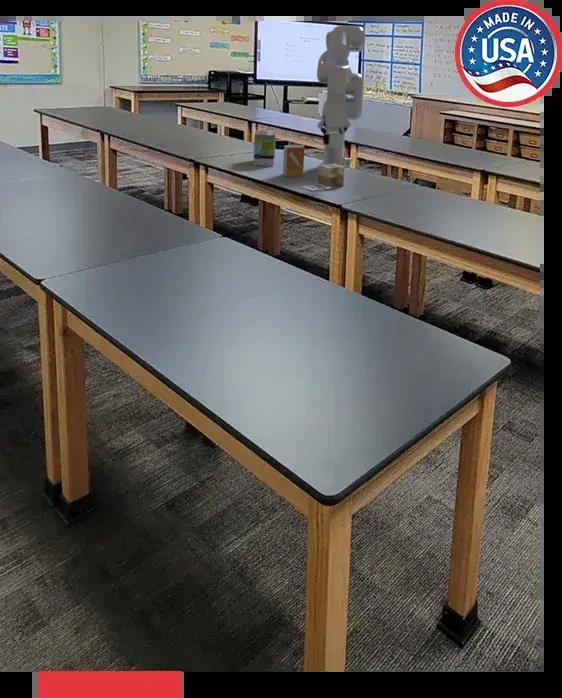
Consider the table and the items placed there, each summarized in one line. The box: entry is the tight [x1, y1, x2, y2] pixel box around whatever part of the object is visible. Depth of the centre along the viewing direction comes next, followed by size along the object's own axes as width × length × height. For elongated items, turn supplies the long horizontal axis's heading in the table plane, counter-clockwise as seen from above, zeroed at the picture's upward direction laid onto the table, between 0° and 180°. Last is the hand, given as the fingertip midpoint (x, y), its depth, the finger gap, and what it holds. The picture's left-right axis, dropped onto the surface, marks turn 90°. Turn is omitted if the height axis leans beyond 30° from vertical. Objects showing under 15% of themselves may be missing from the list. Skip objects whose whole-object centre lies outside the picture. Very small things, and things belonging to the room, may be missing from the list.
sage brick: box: [322, 132, 344, 147], centre depth 284 cm, size 6×6×5 cm
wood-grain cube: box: [317, 164, 346, 187], centre depth 290 cm, size 8×8×8 cm
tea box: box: [253, 129, 277, 167], centre depth 329 cm, size 15×10×15 cm, turn 179°
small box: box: [282, 144, 305, 178], centre depth 304 cm, size 8×6×13 cm
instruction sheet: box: [300, 184, 327, 191], centre depth 285 cm, size 12×9×1 cm
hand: (333, 143), depth 285 cm, fingers closed on sage brick, 6 cm apart
